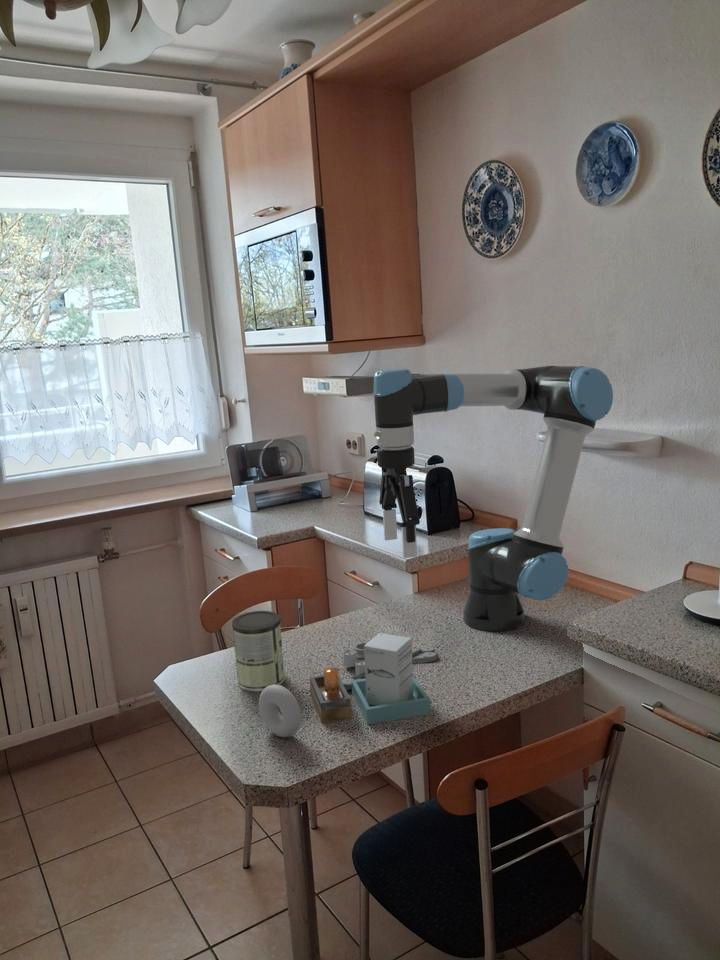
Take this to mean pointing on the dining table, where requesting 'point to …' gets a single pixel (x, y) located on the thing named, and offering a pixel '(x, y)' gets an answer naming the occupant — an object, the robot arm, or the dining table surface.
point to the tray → (393, 711)
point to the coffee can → (258, 650)
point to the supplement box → (388, 669)
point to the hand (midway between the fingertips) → (400, 548)
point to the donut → (287, 705)
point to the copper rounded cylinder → (331, 684)
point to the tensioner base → (329, 701)
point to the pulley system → (358, 661)
